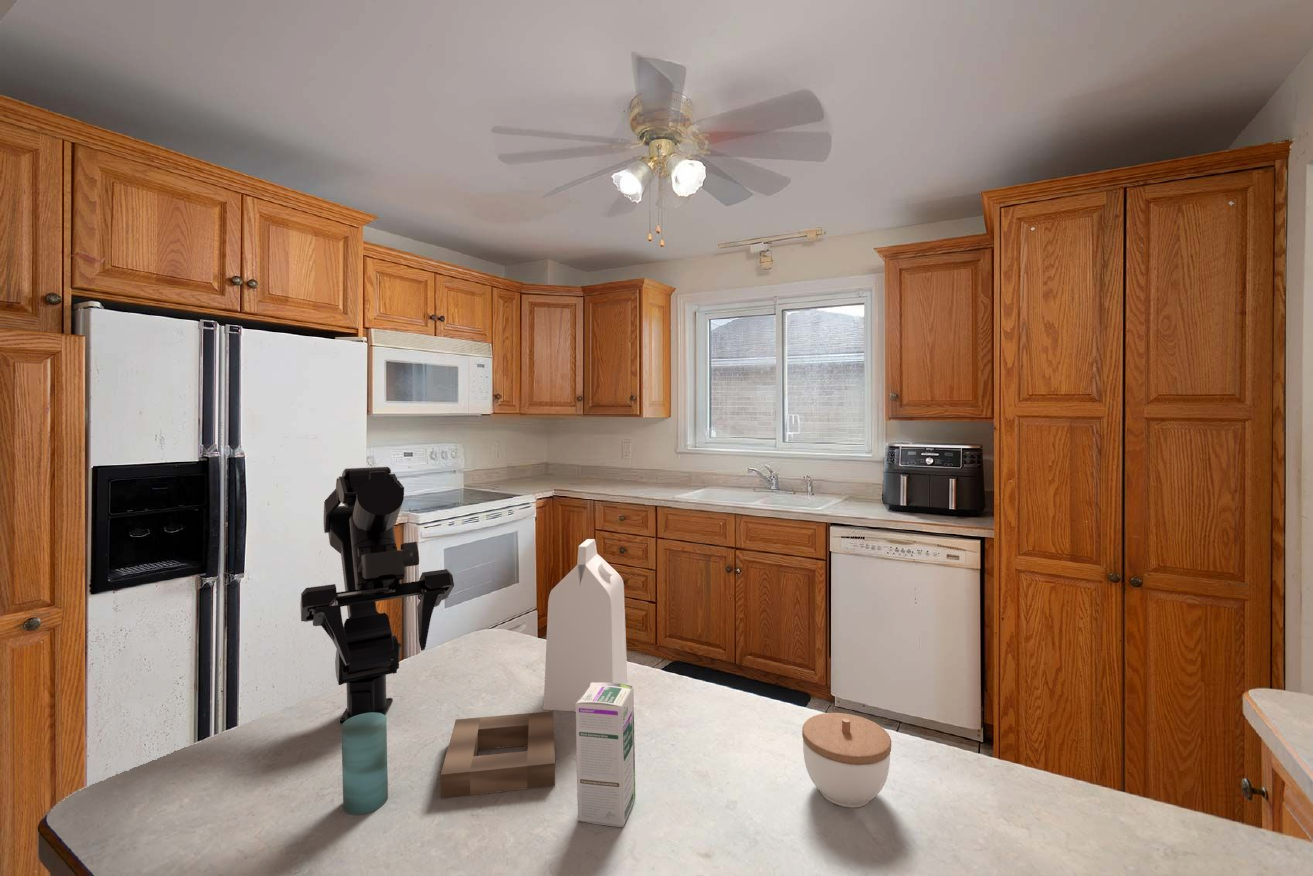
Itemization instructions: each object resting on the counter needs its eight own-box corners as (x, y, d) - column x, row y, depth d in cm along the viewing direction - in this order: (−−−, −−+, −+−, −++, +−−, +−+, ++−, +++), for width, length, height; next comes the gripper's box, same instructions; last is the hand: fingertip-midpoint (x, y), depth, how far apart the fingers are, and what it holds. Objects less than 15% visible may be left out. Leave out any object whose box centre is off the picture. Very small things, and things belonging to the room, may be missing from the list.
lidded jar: (889, 777, 82) (890, 707, 82) (891, 829, 72) (893, 749, 71) (805, 762, 86) (806, 695, 85) (796, 809, 75) (797, 733, 75)
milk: (564, 677, 112) (563, 534, 111) (627, 681, 111) (627, 536, 110) (543, 709, 100) (542, 549, 99) (613, 714, 99) (613, 552, 98)
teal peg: (350, 791, 79) (348, 714, 78) (392, 787, 80) (390, 710, 79) (337, 817, 74) (335, 734, 73) (382, 812, 75) (380, 730, 74)
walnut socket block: (456, 739, 91) (455, 719, 91) (552, 730, 94) (552, 711, 94) (441, 798, 77) (440, 774, 77) (555, 785, 80) (554, 763, 80)
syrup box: (624, 829, 72) (624, 705, 71) (575, 822, 73) (574, 700, 72) (635, 798, 77) (635, 684, 77) (590, 792, 79) (589, 680, 78)
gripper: (300, 529, 78) (307, 654, 71) (453, 515, 87) (472, 624, 81) (297, 563, 86) (304, 679, 79) (438, 547, 96) (454, 649, 89)
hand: (386, 656), depth 82 cm, fingers open, 9 cm apart
